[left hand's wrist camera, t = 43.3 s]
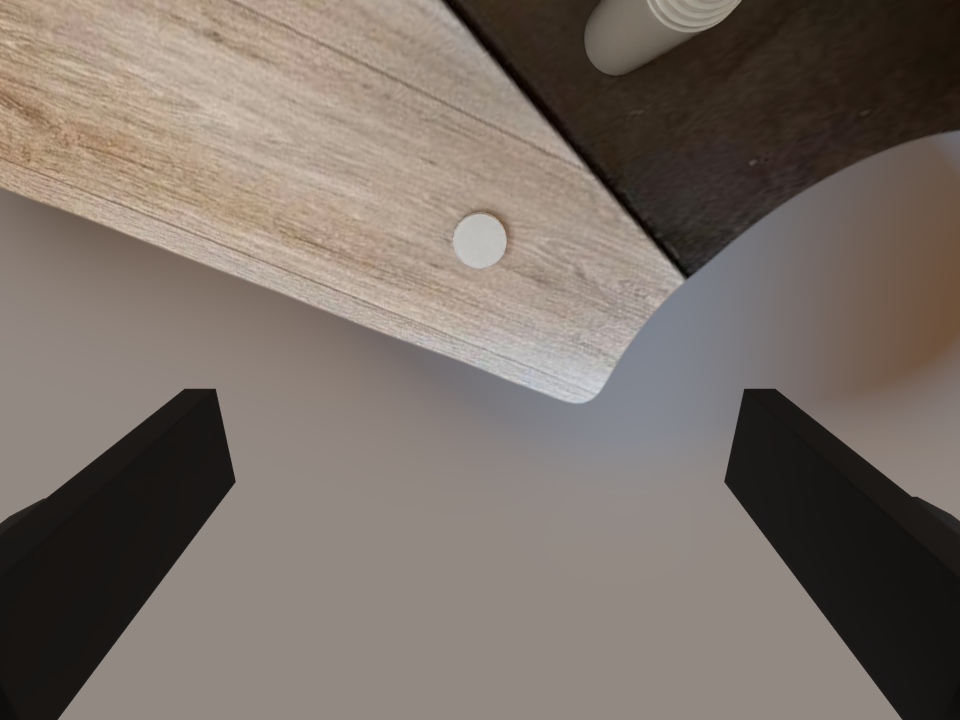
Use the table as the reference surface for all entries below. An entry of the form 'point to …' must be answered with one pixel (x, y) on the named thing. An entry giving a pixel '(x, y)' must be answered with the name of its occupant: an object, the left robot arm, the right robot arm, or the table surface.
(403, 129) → the table surface
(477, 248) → the cap
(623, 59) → the bottle
